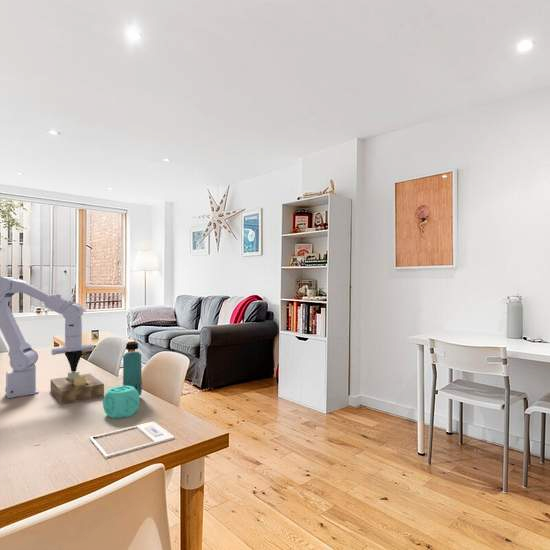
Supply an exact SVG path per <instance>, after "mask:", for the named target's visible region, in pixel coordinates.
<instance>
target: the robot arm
mask: <svg viewBox="0 0 550 550" xmlns="http://www.w3.org/2000/svg"><path fill="white" fill-rule="evenodd" d="M18 293H20V294H21V293H22V294H24V295H27V296H29V297H31V298H33V299H36V300H39V301H40V302H43V304H44V307H45V308H47V309H49V310H51V311H53V312H56V313H58V314H59V315H62V317H63V318H64V320H65V321H64V347H58V348H57V347H56V348H51V355H52V356H55V355H63V354H64V355H65V357H66V359H67V361H68V364H69V367H70V372H71V371H72V372H75V371H77V369H78V365H79V362H80V360H81V358H82V356H83V352H86V351H95V344H83V340H82V339H83V333H82V332H83V331H82V330H83V323H82V322H83V321H82V316H83V314H84V308H83V306H82V305H80V303H75V302H74V303H73V300H68V299H66V298H65V297H62V294H60V293H51V294H50V293H49V294H48V293H47V292H45V291H43V290H41V289H40V288H38V287H36V286H34V285H32V284H31V283H29V282H27V281H25V280H23V279H19V278H18V277H16V276H0V331H1V333H2V335H3V337H4V339H5V341H6V343H7V345H8V348H9V349H8V350H9V351H8V356H9V366H10V367H11V369H12V370H10V371H9V370H8V371H6V372H5V389H4V391H5V392H4V393H5V394H6V396H7V398H8V399H11V398H17V397H22V396H29V395H34V394H39V391H38V389H37V386H36V385H37V384H36V383H37V382H36V381H37V379H36V377H37V375H36V374H37V366H36V363H37V362H38V360H39V354H38V352H37V351H36V350H34V349H33V348H32V346H31V344H29V343H28V342H27V341H26V339H25V338H24V336H23V334H22V331H21V329H20V327H19V325H18V323H17V321H16V318H15V317H14V315H13V312H12V311H11V308H10V306H9V302H10V300H11V299H12V297H13V296H14V295H15V294H18Z"/></svg>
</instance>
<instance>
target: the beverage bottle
mask: <svg viewBox="0 0 550 550" xmlns="http://www.w3.org/2000/svg"><path fill="white" fill-rule="evenodd" d="M125 345H126V346H125V349H126V351H127V352H126V353H124V354H123V356H122V371H123V372H122V386H132V387H134V388H135V389H136V390H137V391H138V394H139V396H141V395H142V392H143V380H142V377H143V376H142V368H143V366H142V353H140V352H139V351H137V350H138V349H139V343H138V342H133V341H132V342H128V343H126V344H125ZM128 350H130V351H128ZM131 350H134V351H131ZM135 350H136V351H135Z"/></svg>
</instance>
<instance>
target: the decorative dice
mask: <svg viewBox="0 0 550 550" xmlns="http://www.w3.org/2000/svg"><path fill="white" fill-rule="evenodd" d="M140 399H141V398H140V395H139V394H138V391H137V390H136V389H135V388H134V387H132V386H123V385H119V386H118V385H117V386H115V387H110V388H109V389H108V390H107V391H106V392H105V393H104V396H103V399H102V408H103V411H104V413H105V414H106V415H107V417H108V418H110V417H111V418H110V419H124V418H123V417H125V418H128V416H129V417H131V416H133V415H134V414H135V413H136V412H137V410H138V409H139V406H140V404H141V403H140V402H141V400H140Z"/></svg>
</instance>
